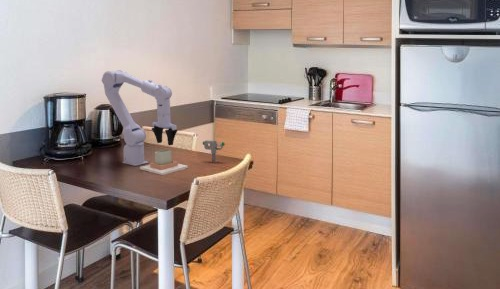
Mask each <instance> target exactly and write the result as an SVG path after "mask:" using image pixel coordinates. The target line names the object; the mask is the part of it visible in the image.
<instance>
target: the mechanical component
mask: <svg viewBox="0 0 500 289" xmlns="http://www.w3.org/2000/svg"><path fill="white" fill-rule="evenodd" d="M202 145H203V146H204V149H205V150H206V151H207V150H210V154H211V162H212V163H216V153H217V151H221V150H222V149H223V148H224V146H225V145H226V144H225V141H221V142H220V143H219V144H218V141H217V140H203V141H202Z"/></svg>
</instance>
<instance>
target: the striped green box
mask: <svg viewBox="0 0 500 289" xmlns="http://www.w3.org/2000/svg"><path fill="white" fill-rule="evenodd" d="M171 160H172V150H169V149H162V150H157V151H154V162H155V164H159V165H164V164H168V163H172V162H171Z"/></svg>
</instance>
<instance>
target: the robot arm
mask: <svg viewBox="0 0 500 289" xmlns="http://www.w3.org/2000/svg"><path fill="white" fill-rule="evenodd" d="M101 82H102V84H103V88H104V94H105V96H106V99H107V100H108V102H109V104H110V105H111V107H112V109H113V112H114V113H115V114H116V116H117V118H118V120H119V122H120V124H121V126H122V128H123V129H122V135H123V139H124V143H126V144H125V145H124V146H123V149H122V150H123V161H122V163H123V164H126V165H130V166H133V167H135V166H136V167H137V166H141V165H144V164H148V163H149V161H147V160H145V149H144V148H145V146H144V143H145V142H144V141H145V140H146V138H147V133H146V131H145V130H143V129H142V127H141V126H140V125H139V124H137V123H136V122H135V121H134V118H133V117H132V115H131V114H130V112H129V110H128V107H127V106H126V105H125V102H124V101H123V99H122V97H121V95H120V93H119V91H120V89H121V88H122V86H123V85H124V83H126V84H130V85H131V86H134V87H136V88H139V89H140V90H141V92H142V93H143V94H147V95H149V96H151V97H154V99H155V100H156V112H157V114H156V115H157V121H153V122H152V128H151V130H152V133H153V134H154V137H155V140H156V142H157V144H162V142H163V132H165V134H166V138H167V145H168V146H173V145H174V142H175V137H176V134H177V133H178V125H176V124H173V123H172V122H171V97H172V95H173V93H172V92H173V91H172V89H171V88H170V87H168V86H167V85H164V86H162V84H160V83H159V84H157V83H155V82H153V80H152V79H146V80H144V81H143V80H142V79H140V78H138V77H135V76H133V75H132V74H129V73H128V72H127V71H123V70H112V71H111V70H107V71H105V72H103V75H102V78H101ZM164 129H165V131H164Z"/></svg>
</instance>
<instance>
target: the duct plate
mask: <svg viewBox="0 0 500 289" xmlns="http://www.w3.org/2000/svg"><path fill="white" fill-rule="evenodd" d="M171 162H172V163H168V164H164V165H159V164H155V161H154V162H150V163H149V164H146V165H142V166H140V167H139V169H140V170H142V171H147V172H150V173H152V174H157V175H161V176H164V175H168V174H172V173H175V172H179V171H182V170H185V169H188V168H189V166H188V165H185V164H181V163H179V162H178V161H176V160H172V159H171Z"/></svg>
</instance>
